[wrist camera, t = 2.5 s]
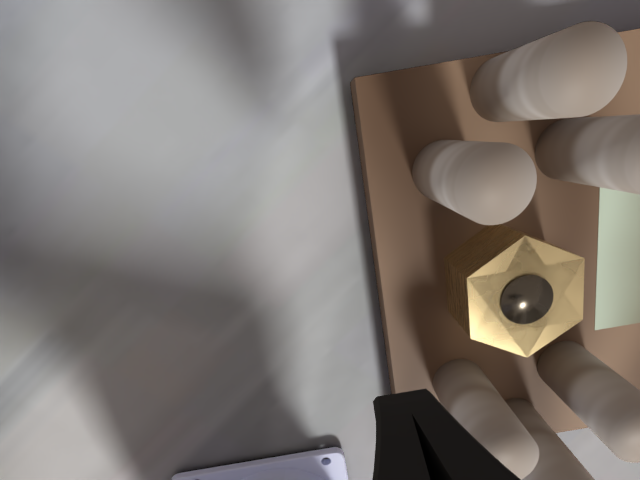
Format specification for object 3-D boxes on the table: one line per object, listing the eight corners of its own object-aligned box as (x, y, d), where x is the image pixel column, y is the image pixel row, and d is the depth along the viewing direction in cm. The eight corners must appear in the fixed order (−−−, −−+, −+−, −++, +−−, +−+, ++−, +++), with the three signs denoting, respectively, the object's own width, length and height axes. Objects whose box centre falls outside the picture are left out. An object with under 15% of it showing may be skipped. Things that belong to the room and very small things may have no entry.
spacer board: (397, 435, 21) (433, 552, 15) (350, 82, 16) (376, 53, 10) (671, 389, 21) (815, 489, 15) (709, 20, 16) (944, -45, 10)
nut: (450, 335, 17) (473, 367, 15) (441, 229, 16) (465, 246, 14) (545, 319, 17) (583, 349, 15) (544, 211, 16) (587, 225, 14)
